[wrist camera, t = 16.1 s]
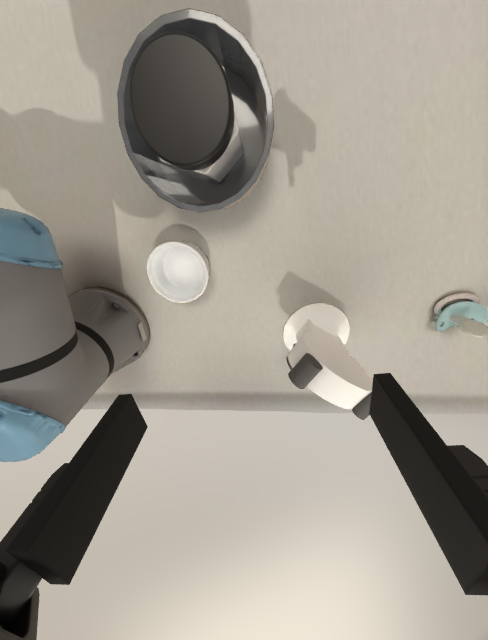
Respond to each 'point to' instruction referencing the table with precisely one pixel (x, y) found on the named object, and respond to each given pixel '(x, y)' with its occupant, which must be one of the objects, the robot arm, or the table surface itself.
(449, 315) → the pacifier
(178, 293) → the ramekin
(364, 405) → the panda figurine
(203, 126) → the jar
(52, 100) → the table surface
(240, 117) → the grey round bowl
